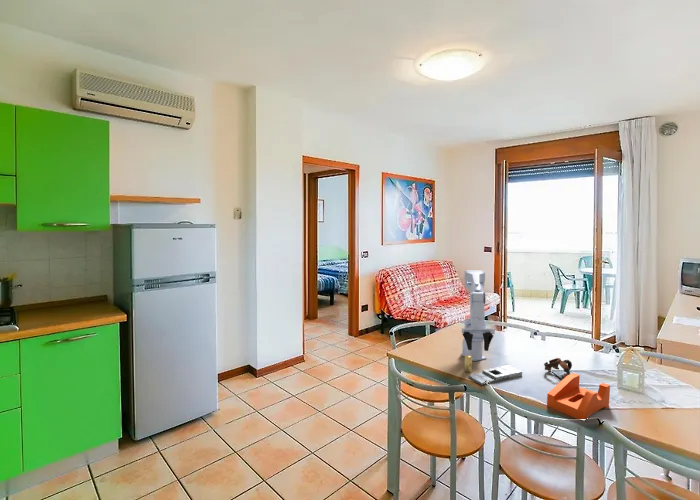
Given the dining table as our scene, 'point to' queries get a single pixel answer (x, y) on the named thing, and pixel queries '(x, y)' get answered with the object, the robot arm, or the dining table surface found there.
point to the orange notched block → (577, 398)
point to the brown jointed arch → (557, 361)
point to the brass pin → (468, 363)
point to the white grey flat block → (501, 374)
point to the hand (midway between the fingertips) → (477, 350)
